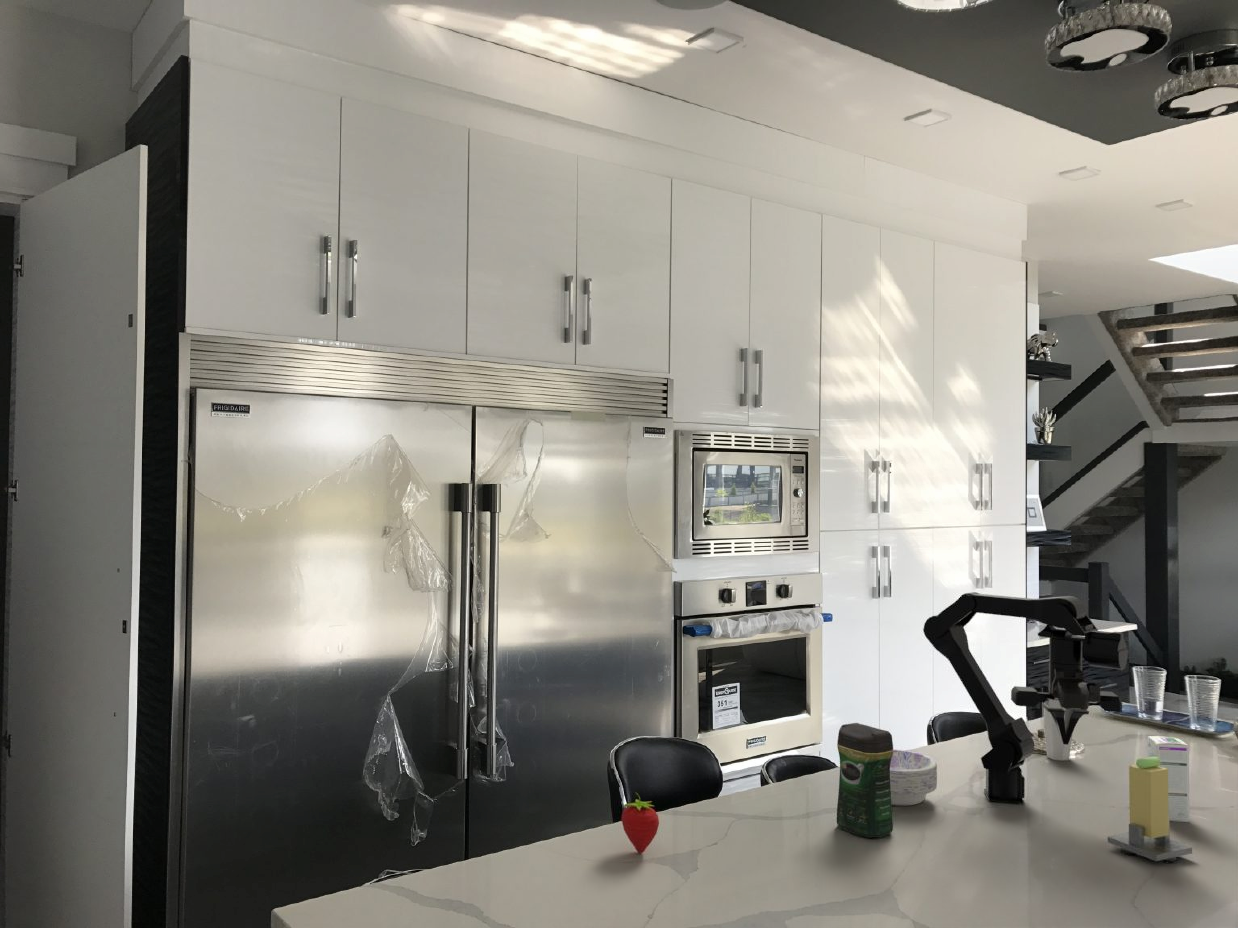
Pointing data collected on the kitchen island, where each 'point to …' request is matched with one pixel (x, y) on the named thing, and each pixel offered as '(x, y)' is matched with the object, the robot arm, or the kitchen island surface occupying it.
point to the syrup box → (1174, 773)
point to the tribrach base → (1149, 845)
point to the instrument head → (1149, 797)
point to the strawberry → (640, 824)
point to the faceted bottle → (1054, 739)
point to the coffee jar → (865, 780)
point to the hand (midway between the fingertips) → (1065, 743)
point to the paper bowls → (911, 777)
